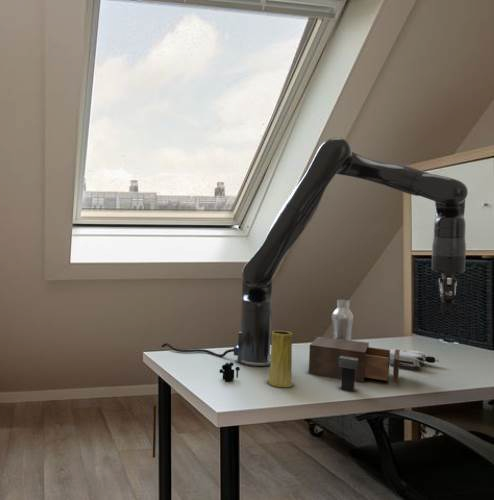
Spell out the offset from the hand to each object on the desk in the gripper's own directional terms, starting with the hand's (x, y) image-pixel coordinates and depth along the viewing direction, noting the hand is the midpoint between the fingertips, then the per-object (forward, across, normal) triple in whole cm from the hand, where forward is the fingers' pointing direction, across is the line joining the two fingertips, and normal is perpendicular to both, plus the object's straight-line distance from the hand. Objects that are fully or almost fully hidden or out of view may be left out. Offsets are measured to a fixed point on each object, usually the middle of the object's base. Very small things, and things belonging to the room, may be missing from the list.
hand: (446, 314), depth 129 cm
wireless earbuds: (+20, +28, -51) cm, 62 cm away
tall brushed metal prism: (+20, +17, -22) cm, 34 cm away
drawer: (+19, 0, -15) cm, 24 cm away
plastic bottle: (+20, -15, -27) cm, 37 cm away
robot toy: (+21, -23, -8) cm, 32 cm away
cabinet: (+20, 0, -26) cm, 33 cm away
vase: (+20, +23, -38) cm, 49 cm away
